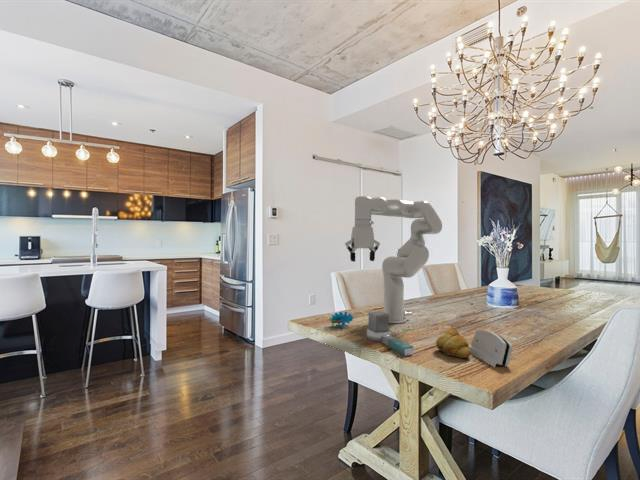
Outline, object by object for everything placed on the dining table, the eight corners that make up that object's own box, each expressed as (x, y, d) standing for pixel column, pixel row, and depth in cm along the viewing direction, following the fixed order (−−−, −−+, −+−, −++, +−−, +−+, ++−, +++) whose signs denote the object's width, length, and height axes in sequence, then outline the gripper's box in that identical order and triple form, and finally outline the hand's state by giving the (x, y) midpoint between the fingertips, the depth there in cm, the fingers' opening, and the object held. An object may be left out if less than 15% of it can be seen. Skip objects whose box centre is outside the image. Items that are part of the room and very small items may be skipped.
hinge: (465, 349, 124) (473, 324, 125) (476, 353, 125) (484, 328, 125) (494, 367, 108) (504, 338, 108) (506, 372, 108) (516, 342, 109)
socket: (381, 327, 142) (381, 311, 142) (388, 331, 137) (388, 314, 137) (368, 328, 140) (368, 312, 140) (375, 332, 135) (375, 315, 135)
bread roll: (477, 359, 115) (477, 336, 115) (452, 361, 113) (452, 338, 113) (454, 347, 128) (454, 326, 128) (431, 348, 125) (431, 327, 125)
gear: (354, 320, 158) (351, 309, 151) (355, 332, 154) (351, 320, 147) (331, 322, 160) (327, 311, 153) (331, 334, 156) (327, 323, 149)
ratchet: (383, 333, 144) (383, 314, 144) (420, 353, 120) (421, 331, 120) (362, 335, 141) (362, 316, 141) (396, 356, 117) (397, 334, 116)
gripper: (375, 224, 160) (375, 260, 160) (342, 223, 154) (342, 260, 154) (383, 223, 153) (383, 261, 153) (349, 223, 147) (349, 262, 147)
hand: (362, 261), depth 154 cm, fingers open, 9 cm apart
